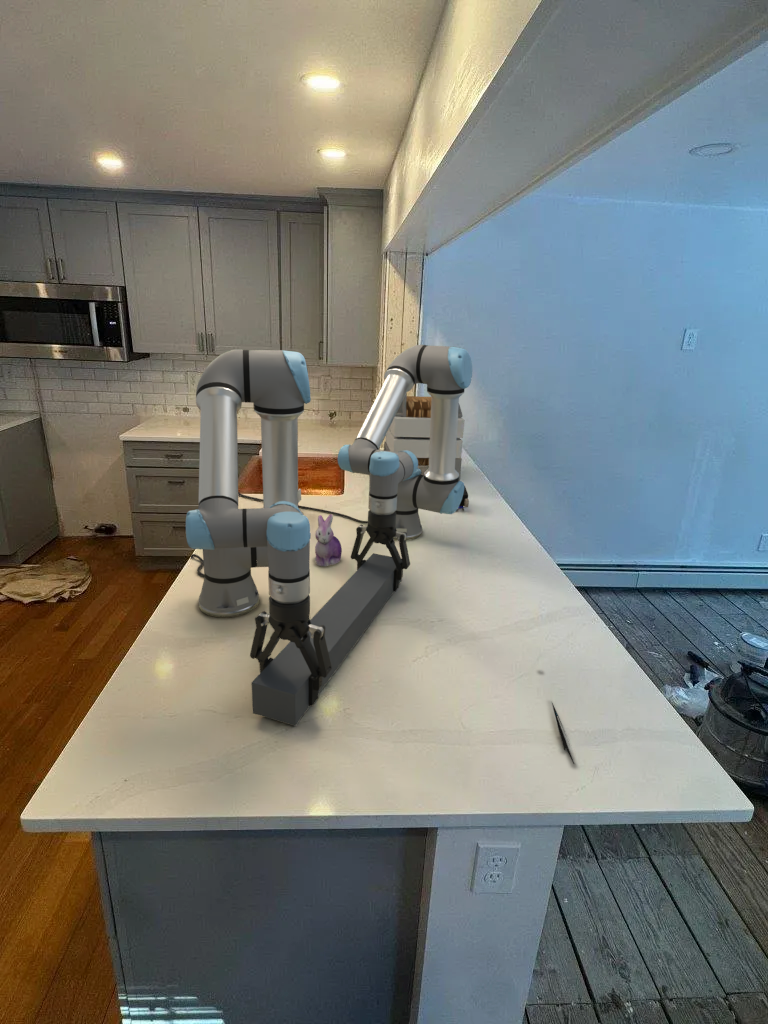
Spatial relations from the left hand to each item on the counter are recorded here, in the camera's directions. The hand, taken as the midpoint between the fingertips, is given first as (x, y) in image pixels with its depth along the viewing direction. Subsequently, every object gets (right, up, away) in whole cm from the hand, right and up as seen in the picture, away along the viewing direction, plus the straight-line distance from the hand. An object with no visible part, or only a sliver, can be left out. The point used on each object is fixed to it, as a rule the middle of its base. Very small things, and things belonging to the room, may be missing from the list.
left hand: (290, 695), depth 113 cm
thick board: (+8, +7, +23) cm, 26 cm away
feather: (+53, -4, 0) cm, 53 cm away
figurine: (+1, +21, +63) cm, 67 cm away
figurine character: (+49, +38, +117) cm, 133 cm away
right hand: (+17, +16, +46) cm, 51 cm away
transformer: (+36, +55, +162) cm, 175 cm away
